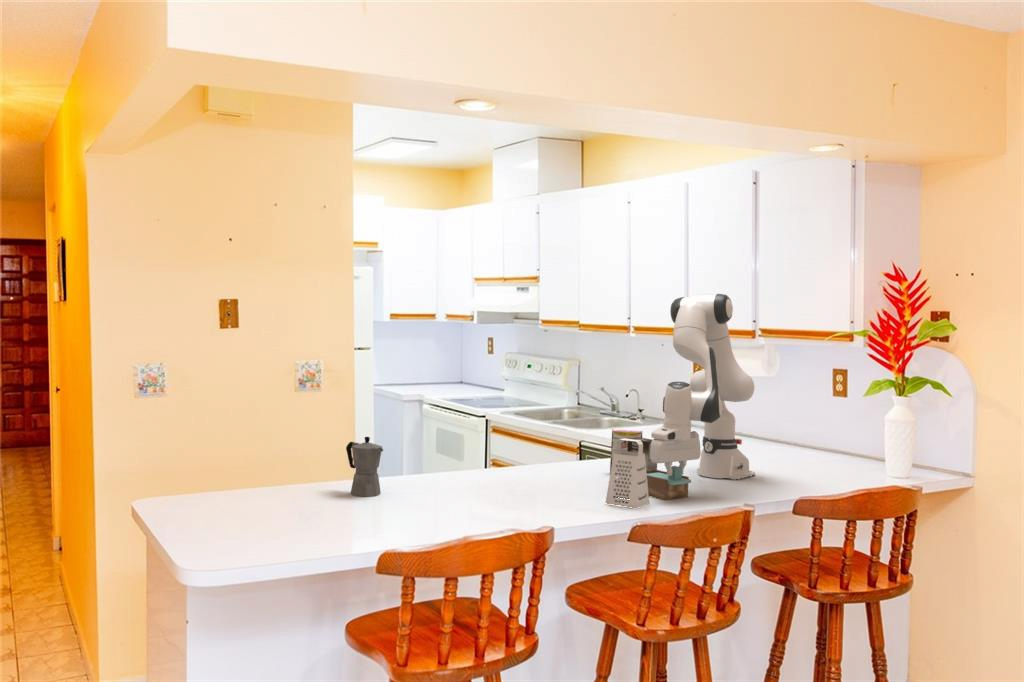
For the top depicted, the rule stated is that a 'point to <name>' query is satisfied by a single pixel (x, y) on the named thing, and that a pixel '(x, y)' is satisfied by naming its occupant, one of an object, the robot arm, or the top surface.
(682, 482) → the cover plate
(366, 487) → the coffeepot
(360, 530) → the top surface
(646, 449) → the coffee box
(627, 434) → the candy bar box
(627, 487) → the grater
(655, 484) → the walnut box
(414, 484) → the top surface
